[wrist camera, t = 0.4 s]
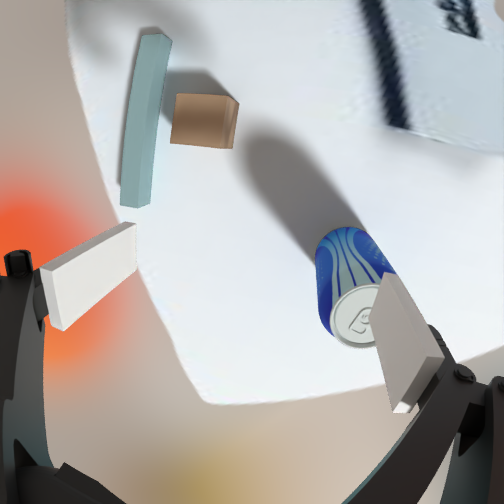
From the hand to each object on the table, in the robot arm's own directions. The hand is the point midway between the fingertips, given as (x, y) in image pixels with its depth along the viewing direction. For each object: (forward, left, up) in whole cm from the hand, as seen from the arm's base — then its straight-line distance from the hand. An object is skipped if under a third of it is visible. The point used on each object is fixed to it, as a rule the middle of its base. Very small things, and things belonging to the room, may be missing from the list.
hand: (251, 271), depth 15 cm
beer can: (+6, +9, -24) cm, 27 cm away
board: (-8, -20, -24) cm, 32 cm away
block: (-8, -11, -24) cm, 28 cm away
